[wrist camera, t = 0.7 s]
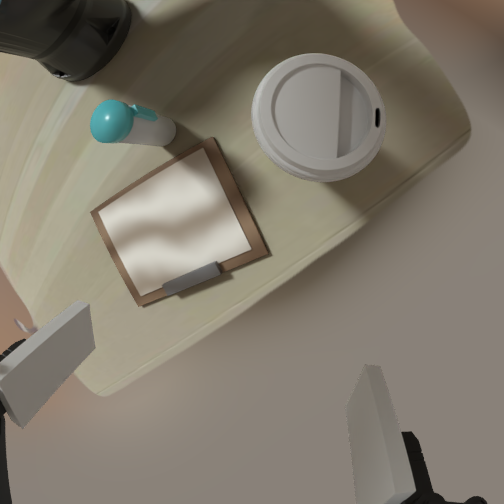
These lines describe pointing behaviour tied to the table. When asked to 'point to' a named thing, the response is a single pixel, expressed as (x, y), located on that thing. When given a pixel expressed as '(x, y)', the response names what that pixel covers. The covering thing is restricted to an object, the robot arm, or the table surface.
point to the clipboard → (179, 225)
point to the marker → (130, 125)
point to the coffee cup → (318, 117)
